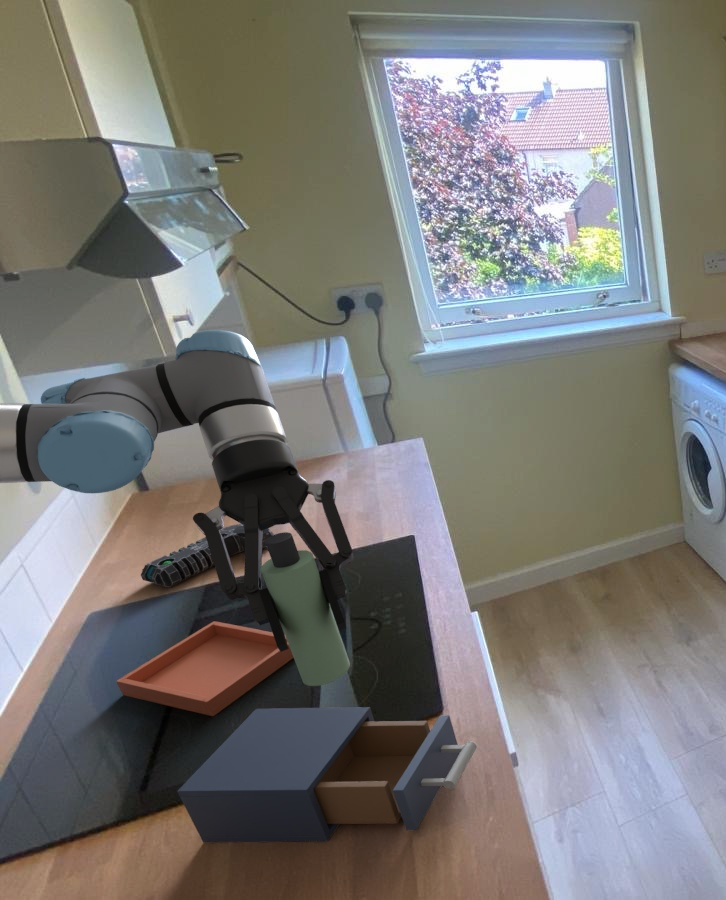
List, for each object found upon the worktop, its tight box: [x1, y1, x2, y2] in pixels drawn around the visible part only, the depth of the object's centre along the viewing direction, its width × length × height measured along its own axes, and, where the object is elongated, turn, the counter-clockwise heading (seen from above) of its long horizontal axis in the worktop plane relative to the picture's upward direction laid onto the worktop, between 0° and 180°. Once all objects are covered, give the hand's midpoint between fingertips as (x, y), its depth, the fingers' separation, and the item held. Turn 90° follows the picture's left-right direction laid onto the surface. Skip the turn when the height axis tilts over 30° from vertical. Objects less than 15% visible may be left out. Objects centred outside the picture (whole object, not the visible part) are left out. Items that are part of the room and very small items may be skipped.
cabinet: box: [176, 706, 376, 843], centre depth 88 cm, size 15×13×8 cm
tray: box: [115, 620, 294, 717], centre depth 111 cm, size 18×15×3 cm
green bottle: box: [261, 531, 351, 687], centre depth 81 cm, size 5×5×18 cm
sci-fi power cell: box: [140, 523, 275, 589], centre depth 139 cm, size 4×19×10 cm
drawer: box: [313, 714, 477, 831], centre depth 88 cm, size 18×11×6 cm, turn 89°
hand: (312, 636), depth 79 cm, fingers closed on green bottle, 5 cm apart
